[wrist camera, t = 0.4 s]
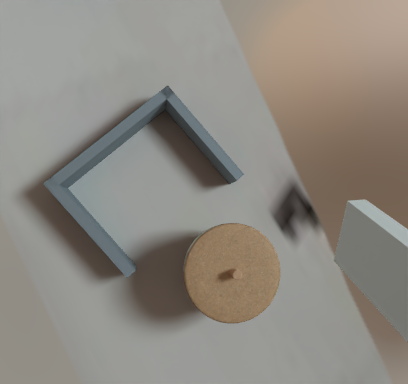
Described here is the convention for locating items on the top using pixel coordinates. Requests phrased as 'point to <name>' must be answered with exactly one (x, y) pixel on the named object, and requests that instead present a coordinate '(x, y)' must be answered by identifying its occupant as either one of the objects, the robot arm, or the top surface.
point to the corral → (117, 138)
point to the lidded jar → (231, 273)
